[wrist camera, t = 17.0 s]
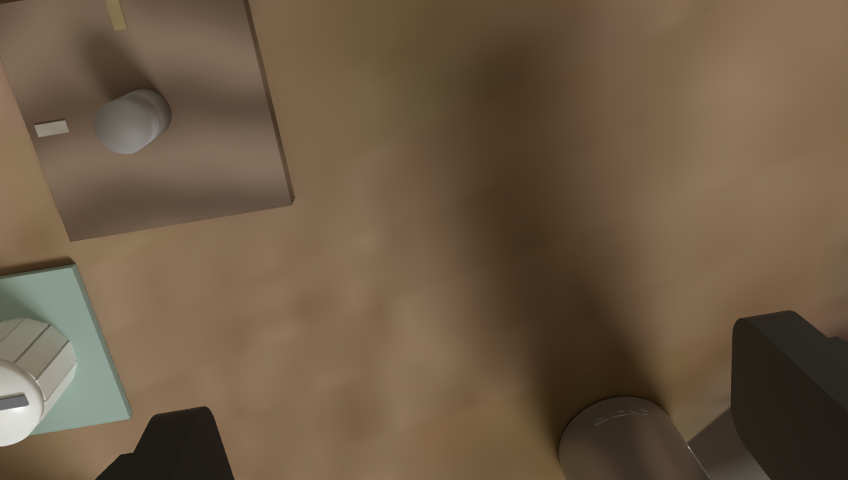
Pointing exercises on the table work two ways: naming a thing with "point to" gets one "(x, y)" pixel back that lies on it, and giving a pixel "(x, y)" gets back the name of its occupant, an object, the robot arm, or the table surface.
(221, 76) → the post base
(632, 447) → the robot arm
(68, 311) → the sage mat
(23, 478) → the table surface
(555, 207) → the table surface
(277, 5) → the table surface
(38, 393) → the cap
